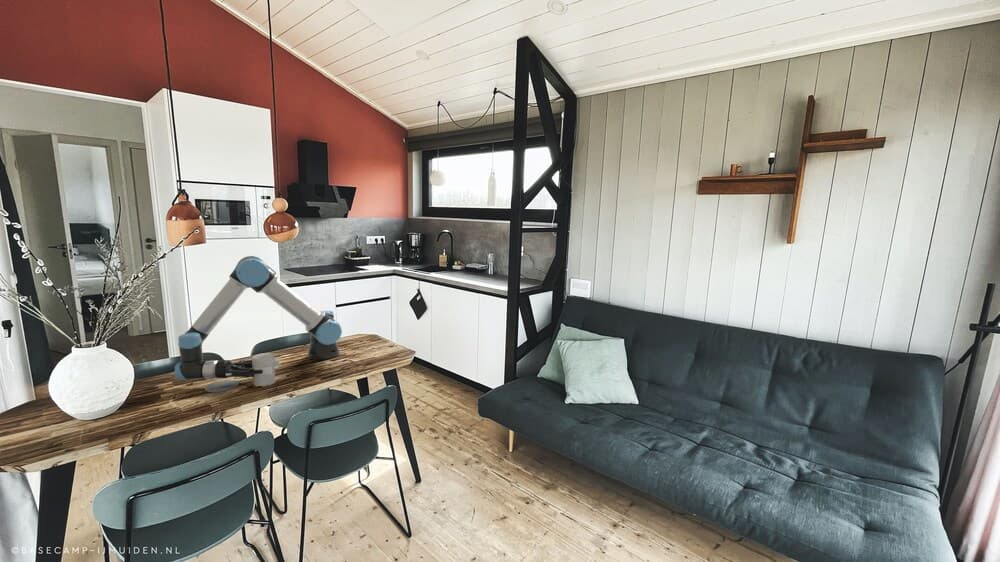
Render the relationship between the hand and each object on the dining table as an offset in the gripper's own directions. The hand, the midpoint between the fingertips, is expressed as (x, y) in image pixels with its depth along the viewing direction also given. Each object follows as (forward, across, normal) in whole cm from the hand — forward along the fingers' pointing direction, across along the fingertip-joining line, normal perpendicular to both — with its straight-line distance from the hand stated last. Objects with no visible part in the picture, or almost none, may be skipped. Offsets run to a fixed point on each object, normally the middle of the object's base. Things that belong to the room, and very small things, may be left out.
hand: (275, 366), depth 181 cm
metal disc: (-21, +2, -7) cm, 22 cm away
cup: (-5, 0, -7) cm, 9 cm away
